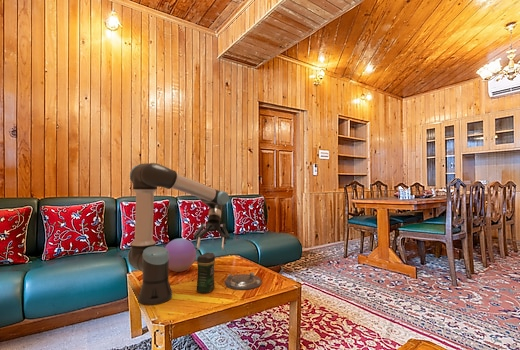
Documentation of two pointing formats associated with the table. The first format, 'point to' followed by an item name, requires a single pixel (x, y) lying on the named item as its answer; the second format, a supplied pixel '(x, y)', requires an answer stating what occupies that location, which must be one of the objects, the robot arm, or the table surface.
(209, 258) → the coffee jar
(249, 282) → the lug base plate
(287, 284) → the table surface
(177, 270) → the ball
